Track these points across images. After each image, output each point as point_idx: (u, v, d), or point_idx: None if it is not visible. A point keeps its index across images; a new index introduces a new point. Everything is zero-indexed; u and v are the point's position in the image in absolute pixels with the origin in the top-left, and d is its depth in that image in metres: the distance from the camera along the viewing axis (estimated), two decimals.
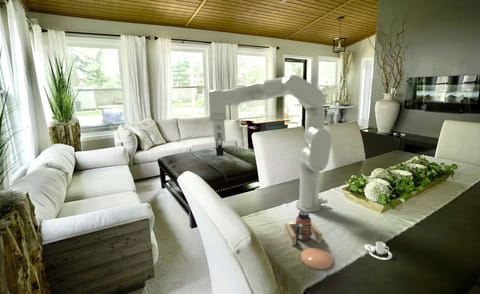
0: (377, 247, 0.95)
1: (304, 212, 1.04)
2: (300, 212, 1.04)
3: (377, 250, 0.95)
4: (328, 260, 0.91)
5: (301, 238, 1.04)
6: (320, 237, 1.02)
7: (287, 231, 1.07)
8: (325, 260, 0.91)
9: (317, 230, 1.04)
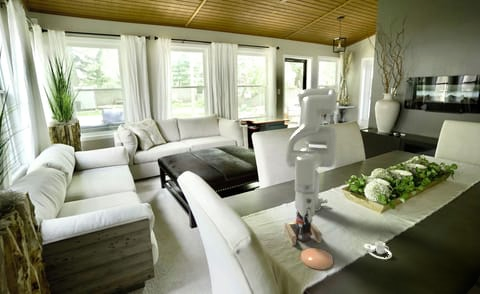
0: (377, 247, 0.95)
1: None
2: None
3: (377, 249, 0.95)
4: (328, 260, 0.91)
5: (301, 238, 1.04)
6: (320, 237, 1.02)
7: (287, 231, 1.07)
8: (325, 260, 0.91)
9: (317, 230, 1.04)
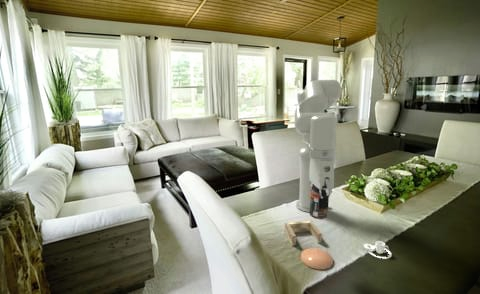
0: (377, 246, 0.95)
1: None
2: None
3: (377, 249, 0.95)
4: (328, 260, 0.91)
5: (317, 215, 0.87)
6: (320, 237, 1.02)
7: (287, 231, 1.07)
8: (325, 260, 0.91)
9: (317, 230, 1.04)
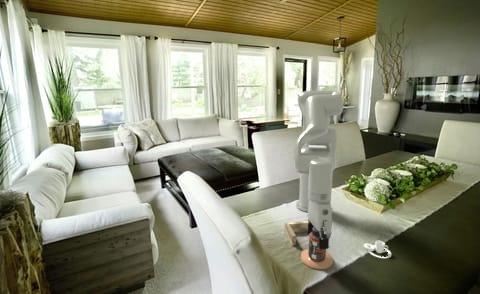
0: (376, 246, 0.95)
1: None
2: (314, 228, 0.90)
3: (376, 249, 0.96)
4: (328, 260, 0.91)
5: (315, 258, 0.90)
6: None
7: (287, 231, 1.07)
8: (325, 260, 0.91)
9: None
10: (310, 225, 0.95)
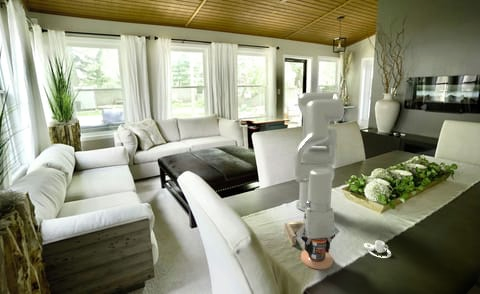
0: (376, 245, 0.96)
1: None
2: None
3: (376, 248, 0.96)
4: (328, 260, 0.91)
5: (315, 258, 0.90)
6: None
7: (287, 231, 1.07)
8: (325, 260, 0.91)
9: None
10: None
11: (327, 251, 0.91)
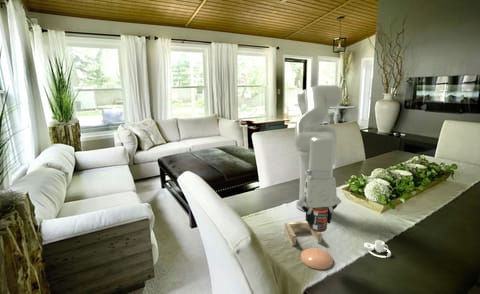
0: (376, 245, 0.96)
1: None
2: None
3: (376, 248, 0.96)
4: (328, 260, 0.91)
5: (316, 229, 0.87)
6: (320, 237, 1.02)
7: (287, 231, 1.07)
8: (325, 260, 0.91)
9: None
10: None
11: (329, 222, 0.89)
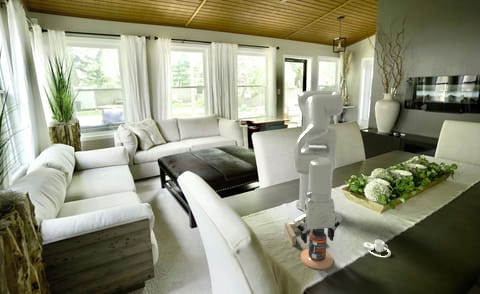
0: (376, 245, 0.96)
1: None
2: None
3: (376, 248, 0.96)
4: (328, 260, 0.91)
5: (315, 258, 0.90)
6: None
7: (287, 231, 1.07)
8: (325, 260, 0.91)
9: None
10: (328, 228, 0.92)
11: (331, 239, 0.91)
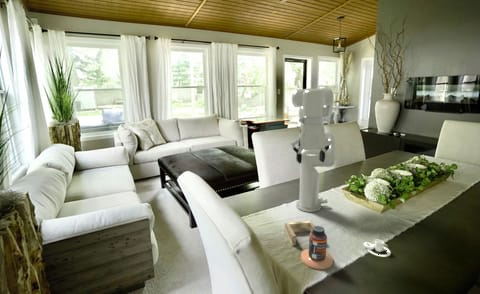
0: (376, 244, 0.96)
1: (319, 228, 0.90)
2: (314, 228, 0.91)
3: (376, 247, 0.97)
4: (328, 260, 0.91)
5: (315, 258, 0.90)
6: None
7: (287, 231, 1.07)
8: (325, 260, 0.91)
9: None
10: (320, 152, 1.08)
11: (322, 160, 1.06)
